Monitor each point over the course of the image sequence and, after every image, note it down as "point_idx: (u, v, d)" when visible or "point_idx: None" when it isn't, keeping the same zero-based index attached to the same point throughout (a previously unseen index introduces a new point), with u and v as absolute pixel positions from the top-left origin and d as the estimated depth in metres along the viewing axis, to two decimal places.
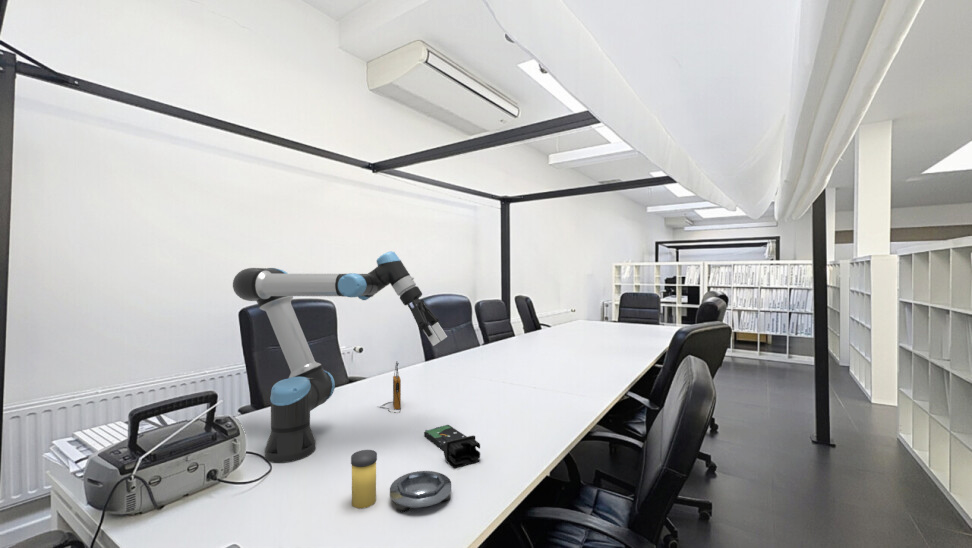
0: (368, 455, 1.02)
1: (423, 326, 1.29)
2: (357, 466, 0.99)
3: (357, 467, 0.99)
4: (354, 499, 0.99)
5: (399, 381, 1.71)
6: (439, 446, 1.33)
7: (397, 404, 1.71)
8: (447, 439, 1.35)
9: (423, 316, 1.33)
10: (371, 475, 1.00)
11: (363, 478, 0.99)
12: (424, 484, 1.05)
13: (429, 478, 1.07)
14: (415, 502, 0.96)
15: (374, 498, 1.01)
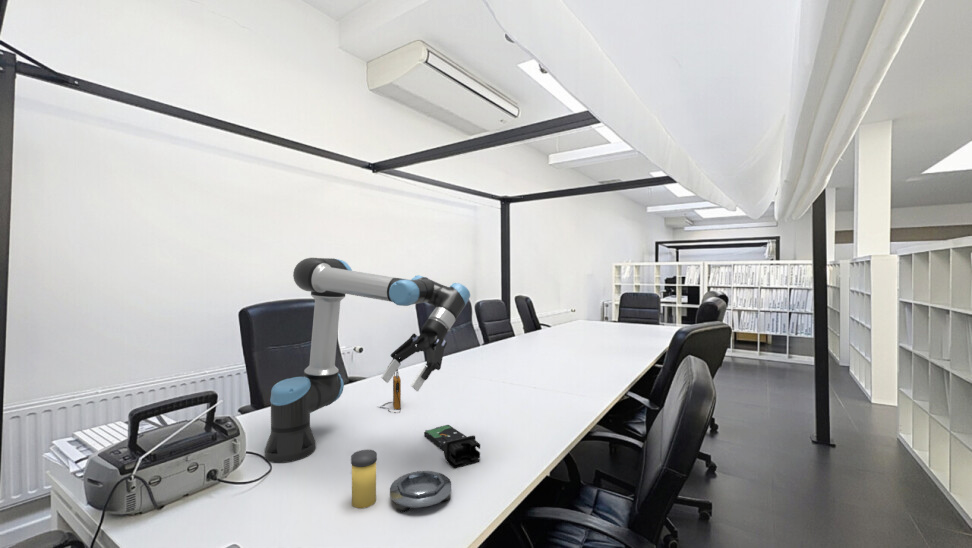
0: (368, 455, 1.02)
1: (434, 367, 1.08)
2: (357, 466, 0.99)
3: (357, 467, 0.99)
4: (354, 499, 0.99)
5: (399, 381, 1.71)
6: (439, 446, 1.33)
7: (397, 404, 1.71)
8: (447, 439, 1.35)
9: None
10: (371, 475, 1.00)
11: (363, 478, 0.99)
12: (424, 484, 1.05)
13: (429, 478, 1.07)
14: (415, 502, 0.96)
15: (374, 498, 1.01)
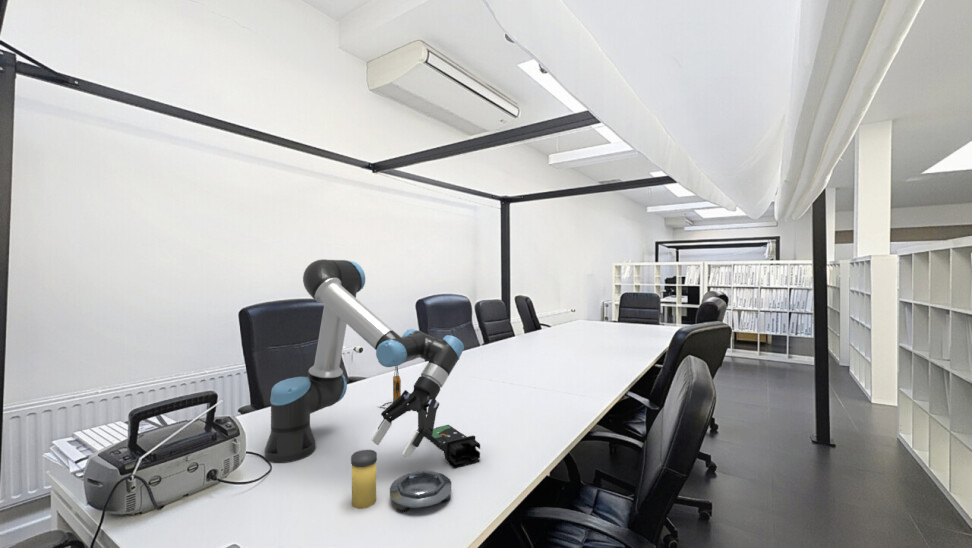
0: (368, 455, 1.02)
1: (426, 434, 1.04)
2: (357, 466, 0.99)
3: (357, 467, 0.99)
4: (354, 499, 0.99)
5: (399, 381, 1.71)
6: (439, 446, 1.33)
7: None
8: (447, 439, 1.35)
9: None
10: (371, 475, 1.00)
11: (363, 478, 0.99)
12: (424, 484, 1.05)
13: (429, 478, 1.07)
14: (415, 502, 0.96)
15: (374, 498, 1.01)
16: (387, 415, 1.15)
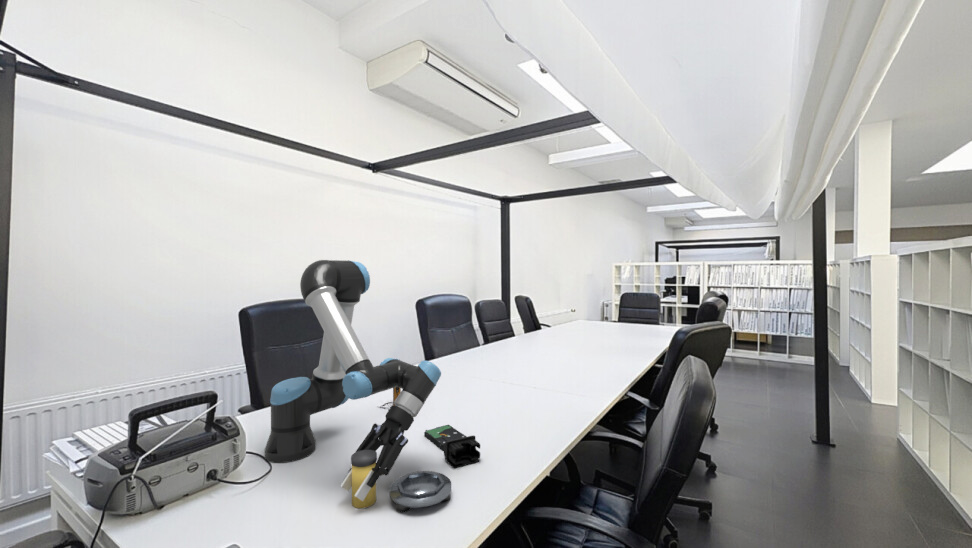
0: (368, 454, 1.02)
1: None
2: (357, 466, 0.99)
3: (357, 467, 0.99)
4: (354, 499, 0.99)
5: None
6: (439, 446, 1.33)
7: None
8: (447, 439, 1.35)
9: None
10: None
11: (363, 478, 0.99)
12: (424, 484, 1.05)
13: (429, 478, 1.07)
14: (415, 502, 0.96)
15: (374, 498, 1.01)
16: None
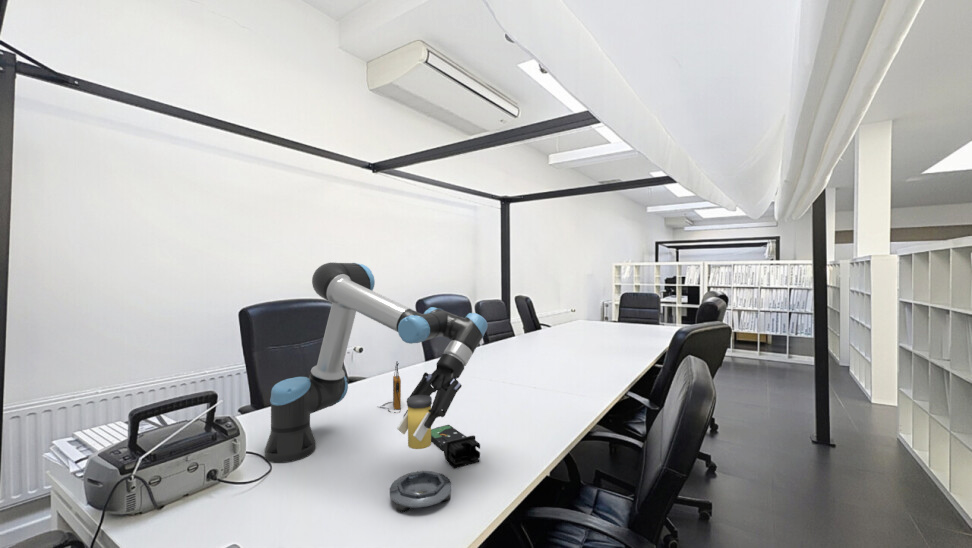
0: (423, 398, 1.04)
1: None
2: (414, 407, 1.01)
3: (414, 408, 1.01)
4: (411, 440, 1.01)
5: (399, 381, 1.71)
6: (439, 446, 1.33)
7: (397, 404, 1.71)
8: (447, 439, 1.35)
9: None
10: None
11: (420, 419, 1.01)
12: (424, 484, 1.05)
13: (429, 478, 1.07)
14: (415, 502, 0.96)
15: (430, 440, 1.03)
16: None
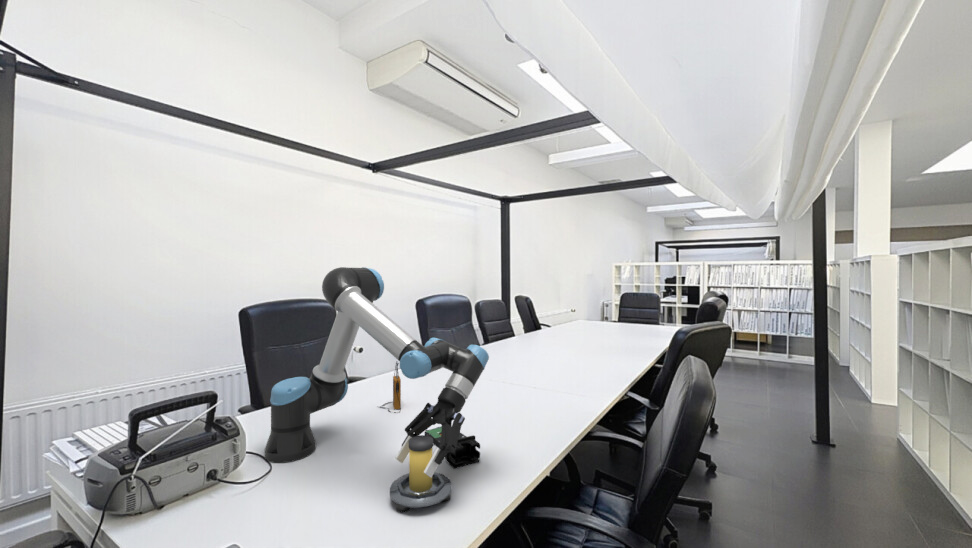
0: (425, 440, 1.04)
1: (449, 450, 1.00)
2: (416, 450, 1.01)
3: (416, 451, 1.01)
4: (412, 483, 1.01)
5: (399, 381, 1.71)
6: None
7: (397, 404, 1.71)
8: None
9: None
10: (428, 459, 1.02)
11: (422, 462, 1.01)
12: None
13: None
14: (415, 502, 0.96)
15: (431, 482, 1.03)
16: (411, 431, 1.09)
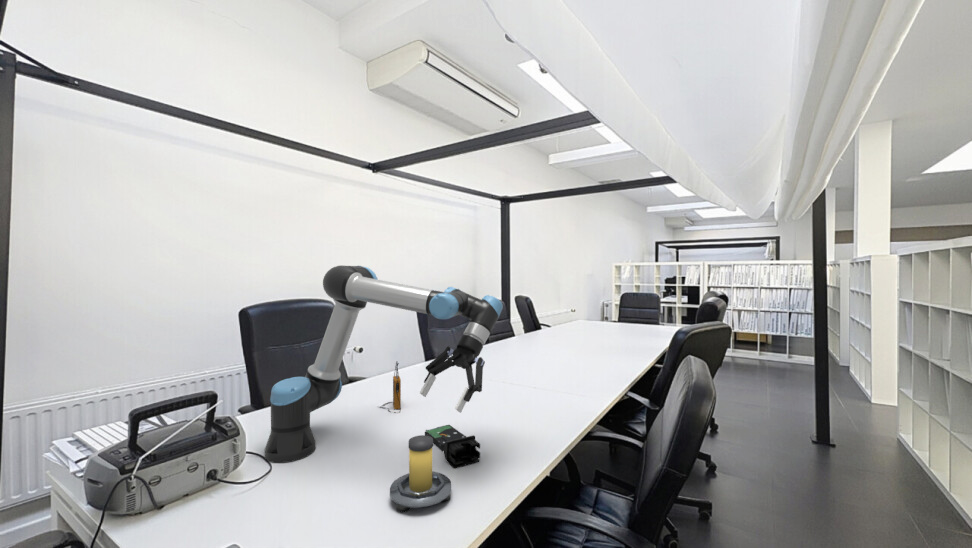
0: (425, 440, 1.04)
1: (476, 390, 1.12)
2: (416, 450, 1.01)
3: (416, 451, 1.01)
4: (412, 483, 1.01)
5: (399, 381, 1.71)
6: (439, 446, 1.33)
7: (397, 404, 1.71)
8: (447, 439, 1.35)
9: (473, 379, 1.16)
10: (428, 459, 1.02)
11: (422, 462, 1.01)
12: None
13: None
14: (415, 502, 0.96)
15: (431, 482, 1.03)
16: (432, 369, 1.21)
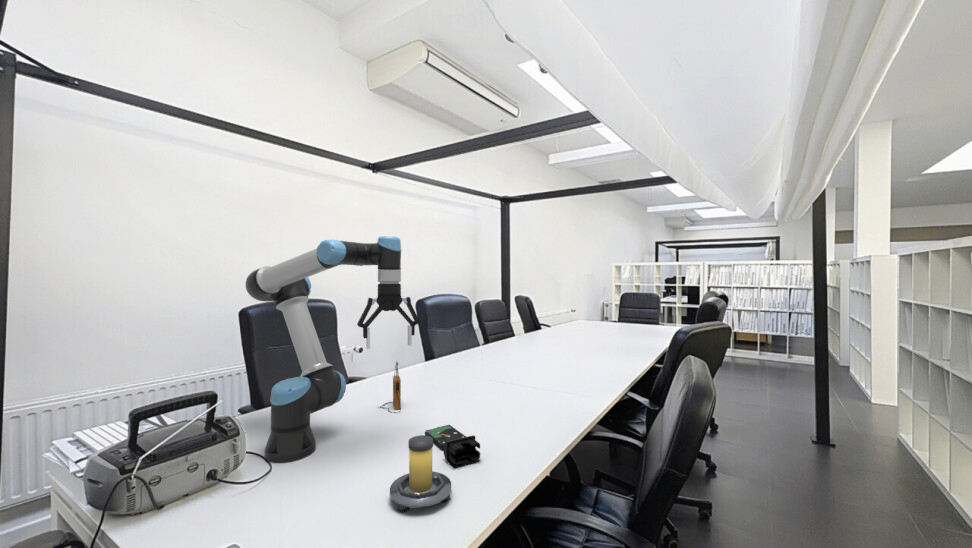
0: (425, 440, 1.04)
1: None
2: (416, 450, 1.01)
3: (416, 451, 1.01)
4: (412, 483, 1.01)
5: (399, 381, 1.71)
6: (438, 446, 1.33)
7: (397, 404, 1.71)
8: (447, 439, 1.35)
9: None
10: (428, 459, 1.02)
11: (422, 462, 1.01)
12: None
13: None
14: (415, 502, 0.96)
15: (431, 482, 1.03)
16: (367, 324, 1.27)
